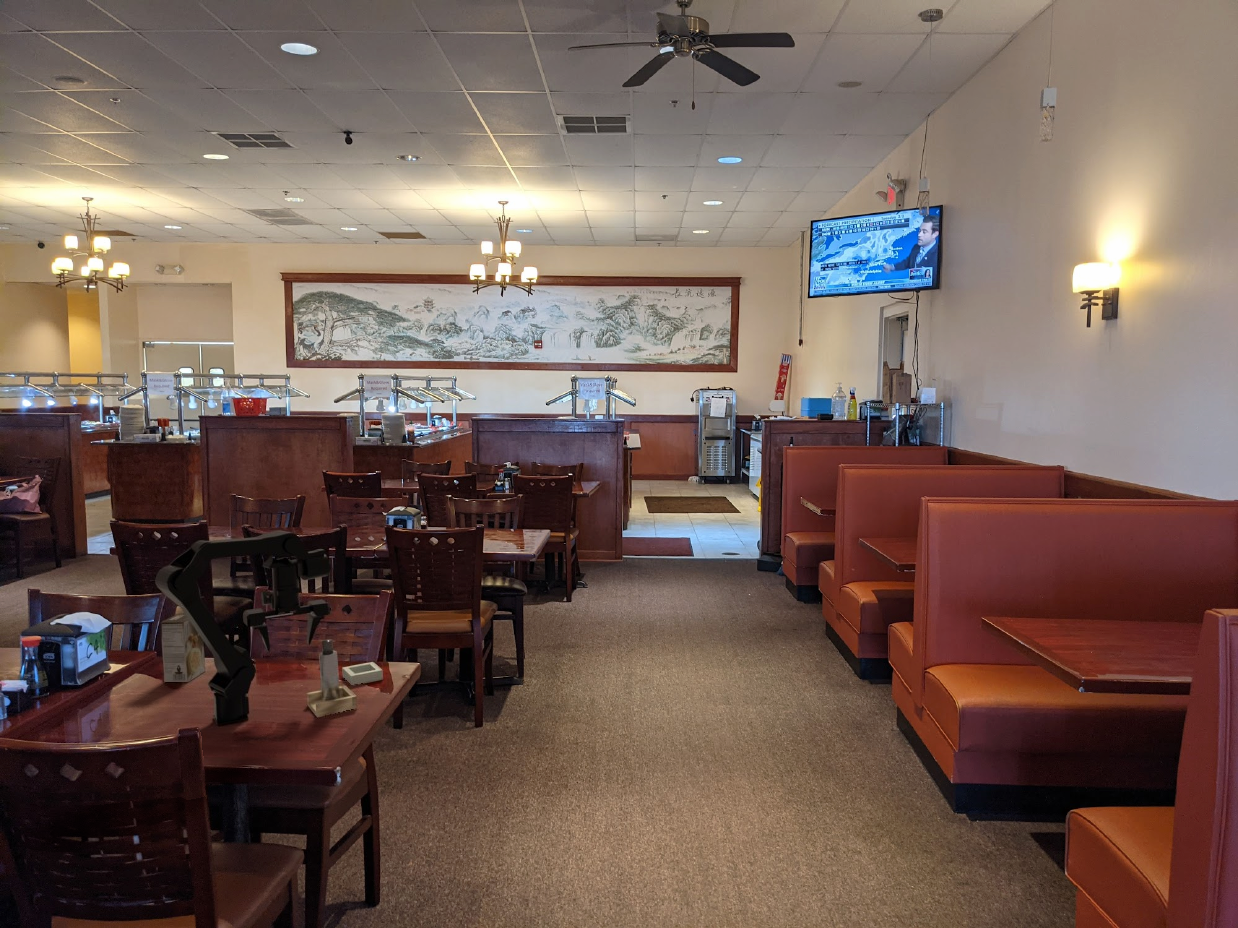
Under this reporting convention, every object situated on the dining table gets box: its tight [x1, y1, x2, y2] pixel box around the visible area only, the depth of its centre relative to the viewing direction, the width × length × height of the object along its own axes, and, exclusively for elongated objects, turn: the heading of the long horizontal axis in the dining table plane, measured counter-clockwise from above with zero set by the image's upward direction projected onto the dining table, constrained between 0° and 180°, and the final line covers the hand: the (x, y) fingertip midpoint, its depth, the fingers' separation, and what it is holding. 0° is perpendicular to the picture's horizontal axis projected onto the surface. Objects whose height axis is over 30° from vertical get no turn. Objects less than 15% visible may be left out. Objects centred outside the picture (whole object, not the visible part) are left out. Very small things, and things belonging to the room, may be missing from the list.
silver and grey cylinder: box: [318, 638, 340, 702], centre depth 199 cm, size 4×4×15 cm
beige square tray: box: [306, 685, 358, 718], centre depth 199 cm, size 9×9×3 cm
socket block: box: [341, 661, 384, 686], centre depth 219 cm, size 8×8×2 cm
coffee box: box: [160, 612, 206, 683], centre depth 221 cm, size 9×6×16 cm
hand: (288, 647), depth 203 cm, fingers open, 9 cm apart
